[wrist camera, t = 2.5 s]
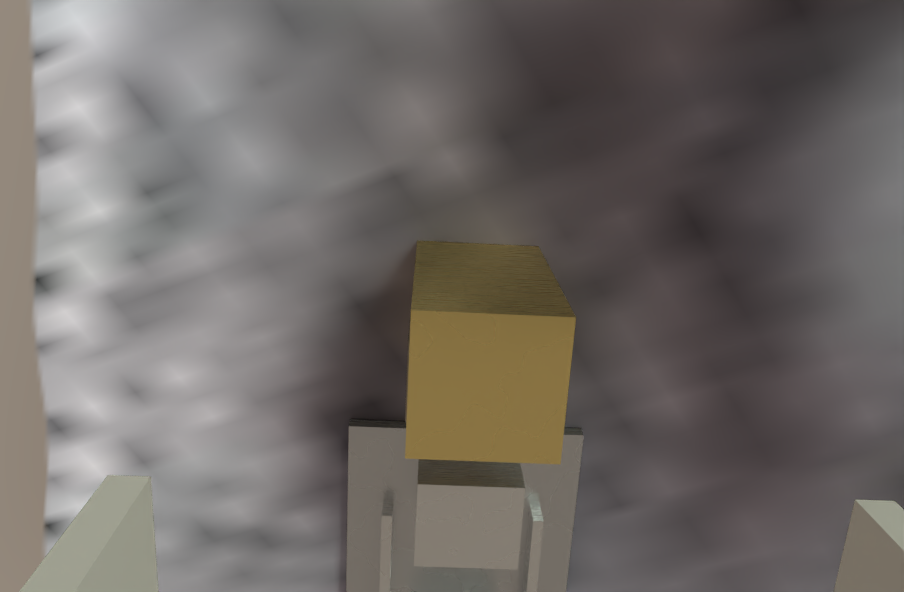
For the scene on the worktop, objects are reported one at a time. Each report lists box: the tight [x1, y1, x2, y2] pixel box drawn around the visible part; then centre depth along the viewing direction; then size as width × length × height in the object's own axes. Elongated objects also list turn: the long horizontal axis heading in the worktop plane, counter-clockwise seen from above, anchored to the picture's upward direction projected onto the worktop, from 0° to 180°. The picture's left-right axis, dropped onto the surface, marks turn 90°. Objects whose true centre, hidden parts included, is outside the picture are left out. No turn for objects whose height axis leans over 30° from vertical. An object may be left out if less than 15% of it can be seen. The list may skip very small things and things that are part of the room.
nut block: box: [405, 241, 576, 464], centre depth 25 cm, size 4×4×8 cm
